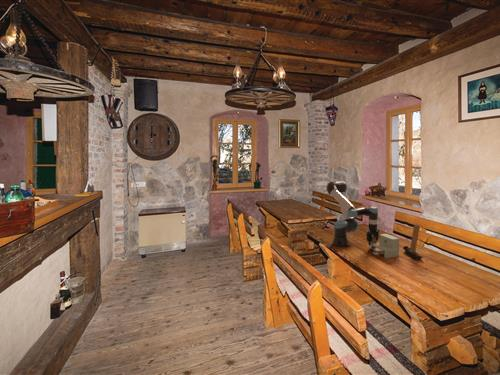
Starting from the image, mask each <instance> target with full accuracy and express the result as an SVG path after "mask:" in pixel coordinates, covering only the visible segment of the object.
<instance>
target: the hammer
mask: <svg viewBox="0 0 500 375" xmlns="http://www.w3.org/2000/svg"><path fill="white" fill-rule="evenodd" d="M420 228H421V225H420V224H418V223H415V224H414V225H413V228H412V230H413V231H412V236H411V243H410V247H409V246H408V245H404V247H403V248H402V249H403V250H404V253H405V254H406V255H408V256H409V257H411V258H412V259H413V258H414V259H413V260H421V259H423V258H424V256H422V255H419V253H418V252H417V251H416V249H417V244H418V239H419V235H420Z"/></svg>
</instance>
